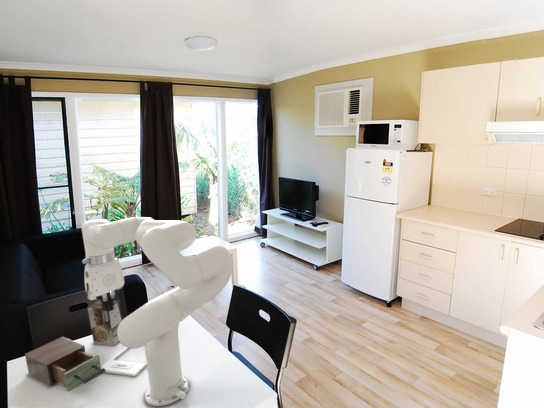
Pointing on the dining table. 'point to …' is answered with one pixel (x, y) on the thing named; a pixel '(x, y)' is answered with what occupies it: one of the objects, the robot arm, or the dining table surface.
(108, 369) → the photo frame
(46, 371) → the cabinet
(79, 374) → the drawer
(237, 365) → the dining table surface
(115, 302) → the coffee box
